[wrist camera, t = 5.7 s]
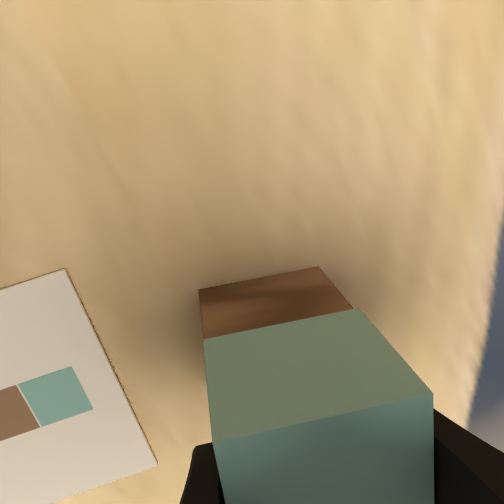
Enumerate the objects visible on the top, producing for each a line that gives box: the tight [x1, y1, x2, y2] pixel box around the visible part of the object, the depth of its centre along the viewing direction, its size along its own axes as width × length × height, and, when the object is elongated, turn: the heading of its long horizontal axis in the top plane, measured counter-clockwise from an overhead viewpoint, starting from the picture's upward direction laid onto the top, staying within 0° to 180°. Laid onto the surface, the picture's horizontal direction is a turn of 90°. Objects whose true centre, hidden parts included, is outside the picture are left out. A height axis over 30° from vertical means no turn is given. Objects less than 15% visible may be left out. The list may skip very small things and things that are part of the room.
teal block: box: [203, 308, 434, 504], centre depth 13 cm, size 5×5×4 cm
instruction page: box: [0, 269, 158, 504], centre depth 19 cm, size 7×10×1 cm
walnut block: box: [199, 267, 354, 339], centre depth 17 cm, size 5×5×4 cm
